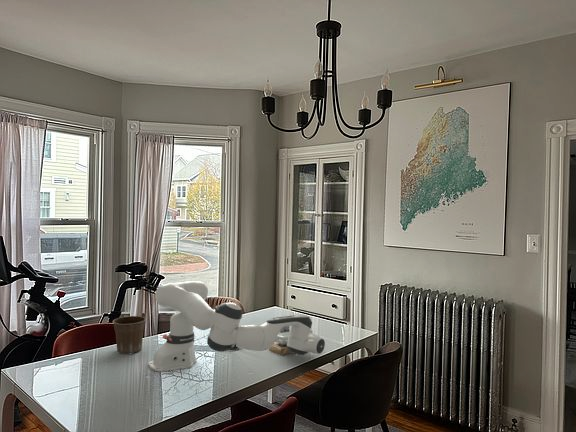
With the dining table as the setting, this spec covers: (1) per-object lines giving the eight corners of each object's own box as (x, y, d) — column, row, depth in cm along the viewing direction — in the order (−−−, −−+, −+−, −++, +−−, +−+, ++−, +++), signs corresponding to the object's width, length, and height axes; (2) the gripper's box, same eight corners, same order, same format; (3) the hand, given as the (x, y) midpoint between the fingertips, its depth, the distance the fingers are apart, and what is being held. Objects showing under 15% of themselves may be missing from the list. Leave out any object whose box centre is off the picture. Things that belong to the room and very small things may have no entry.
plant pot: (118, 357, 222) (118, 325, 222) (108, 349, 235) (108, 318, 235) (150, 351, 233) (150, 320, 232) (138, 343, 245) (138, 314, 245)
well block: (280, 355, 230) (280, 349, 230) (268, 350, 238) (269, 344, 238) (298, 350, 238) (298, 345, 238) (286, 346, 246) (286, 340, 246)
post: (283, 348, 235) (283, 324, 235) (278, 346, 238) (278, 322, 238) (289, 347, 238) (289, 322, 237) (284, 345, 241) (284, 321, 240)
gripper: (283, 348, 221) (267, 341, 232) (314, 341, 234) (297, 335, 245) (284, 335, 221) (267, 329, 232) (314, 329, 234) (297, 323, 245)
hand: (283, 332), depth 238 cm, fingers closed on post, 4 cm apart
